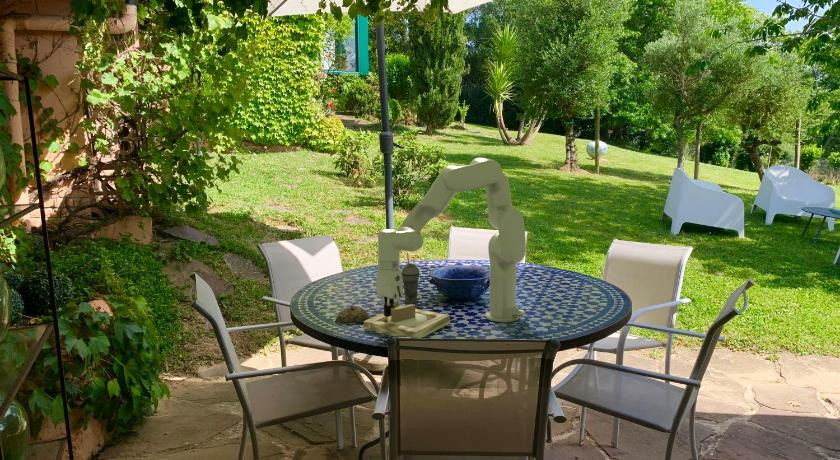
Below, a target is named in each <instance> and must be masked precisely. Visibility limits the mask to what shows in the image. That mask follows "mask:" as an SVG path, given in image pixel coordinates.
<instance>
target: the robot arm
mask: <svg viewBox="0 0 840 460" xmlns="http://www.w3.org/2000/svg"><path fill="white" fill-rule="evenodd" d="M502 169H503V167H502V166H501V164H500V163H499V162H498V161H497V160H494V159H491V158H488V157H487V158H485V157H476V158H474V159H472V160H471V161H470V163H469V164H466V165H462V166H457V165H453V164H452V165H451V164H450V165H447V166H445V167H444V168H443V169H441V171H440V173H438V176H437V177H436V179H435V180H434V182H433V183H432V184H431V186H430V187H429V189H428V191H427V192H426V193H425V195H424V196H423V198H422V199H421V200H420V201H419V202H418V203H417V204H416V206H414V207H413V208H412V209H411V210H410V211H409V213H408V214H407V216H406V217H405V218H404V220H403V221H402V223H401V224H400V226H399V228H398V230H397V229H394V228H384V229H380V230H379V231H378V235H377V272H376V273H377V274H376V283H375V287H376V288H375V289H376V293H377V294H378V297H379V298H380V299H381V300H382V304H383V313H384V316H386V317H389V316H391V308H394V305H395V302H399V303H400V302H401V301H400V298H402V297H403V296H404V285H403V278H402V270H401V267H400V266H401V265H400V263H401V254H400V253H401V251H403V252H404V251H405V252H416V251H418V250H420V249H421V248H422V247H423V244H424V236H423V235H422V233H421V231H422V230H423V229H424V227H425V226H426V225H427V224H428V223H429V222H430V221H431V220H432V219H434V218H436V217H439V216H440V215H442V214H443V213H444V211H445V210H446V209H447V207H448V206H449V204H450V203H451V201H452V200H453V198H454V197H455V195H456V193H462V192H466V191H472V190H475V189H479V188H483V187H484V189H485V190H484V191H485V193H486V199H487V200H486V201H487V212H488V222H489V225H490V226H491V228H492V227H493V229H496V230H497V231H498V232H496V233H494V235H492V236H491V238H490V239H489V241H488V245H487V246H488V247H487V249H488V250H487V251H488V257H489V311H486V312H485V316H484V317H485V319H487V320H488V321H491V322H495V323H496V322H497V323H512V322H515V321H519V320H520V318H525V317H526V310H524V309H519V305H516V304H517V303H516V301H517V298H516V297H517V264H519V263H521V262H522V261H523V259H524V258H525V257H526V256H525V255H526V252H527V241H526V239H527V238H526V227H525V220H524V217H523V214H522V212H521V211H520V210H519V209H517V208H516V207H514V206H513V202H512V196H511V187H510V183H509V180H508V178H507V176H506V175H505V173H504V172H503V170H502Z"/></svg>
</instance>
